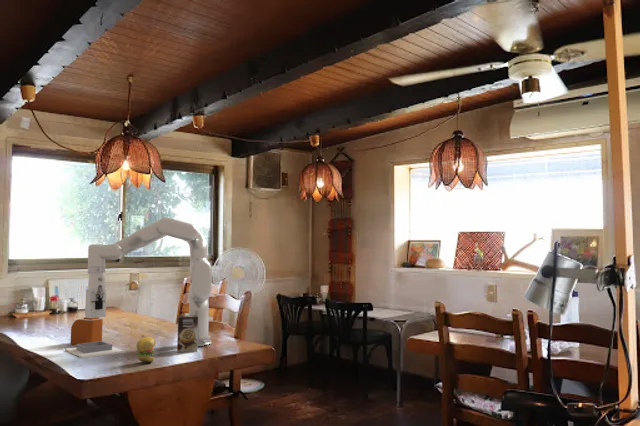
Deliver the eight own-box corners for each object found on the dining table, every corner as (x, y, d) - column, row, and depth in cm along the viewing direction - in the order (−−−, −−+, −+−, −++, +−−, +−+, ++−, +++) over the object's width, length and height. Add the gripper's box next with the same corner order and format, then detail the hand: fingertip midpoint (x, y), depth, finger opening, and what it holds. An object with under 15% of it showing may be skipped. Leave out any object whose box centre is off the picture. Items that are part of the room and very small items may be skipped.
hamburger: (158, 361, 217) (159, 332, 217) (148, 365, 210) (149, 335, 210) (142, 360, 219) (143, 332, 219) (132, 364, 212) (132, 334, 212)
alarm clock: (104, 344, 257) (105, 316, 258) (89, 347, 249) (89, 319, 250) (85, 341, 264) (86, 315, 265) (70, 344, 257) (71, 317, 258)
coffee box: (177, 353, 235) (177, 317, 236) (177, 350, 241) (177, 315, 242) (197, 351, 237) (198, 316, 238) (197, 349, 243) (197, 314, 245)
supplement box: (89, 318, 235) (89, 290, 236) (84, 316, 240) (85, 289, 241) (106, 316, 239) (106, 289, 240) (101, 315, 245) (101, 288, 246)
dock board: (123, 352, 236) (123, 345, 236) (82, 358, 224) (82, 350, 224) (104, 345, 254) (104, 338, 254) (65, 350, 241) (65, 343, 242)
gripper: (111, 270, 237) (110, 309, 236) (98, 269, 250) (97, 306, 249) (94, 271, 232) (93, 310, 231) (81, 270, 245) (80, 307, 244)
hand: (95, 308), depth 240 cm, fingers closed on supplement box, 7 cm apart
